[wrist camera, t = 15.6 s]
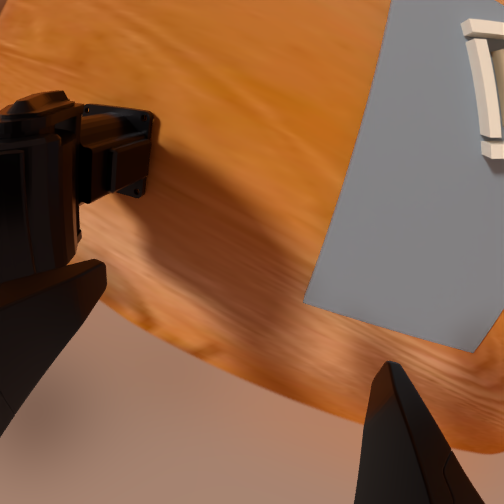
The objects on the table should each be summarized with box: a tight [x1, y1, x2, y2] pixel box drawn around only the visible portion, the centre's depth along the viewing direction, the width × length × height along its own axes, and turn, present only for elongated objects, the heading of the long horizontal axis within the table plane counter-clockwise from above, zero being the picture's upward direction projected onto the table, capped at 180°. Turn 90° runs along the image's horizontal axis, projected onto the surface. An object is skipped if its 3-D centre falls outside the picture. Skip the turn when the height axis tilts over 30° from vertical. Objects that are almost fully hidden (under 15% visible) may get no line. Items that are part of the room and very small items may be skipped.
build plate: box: [303, 0, 504, 353], centre depth 16 cm, size 15×24×1 cm, turn 167°
